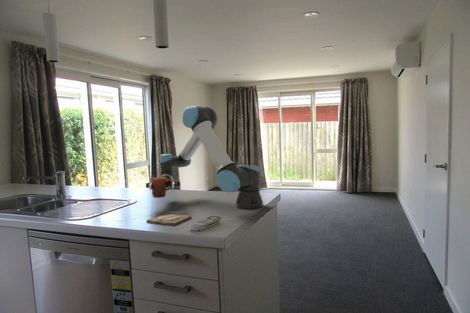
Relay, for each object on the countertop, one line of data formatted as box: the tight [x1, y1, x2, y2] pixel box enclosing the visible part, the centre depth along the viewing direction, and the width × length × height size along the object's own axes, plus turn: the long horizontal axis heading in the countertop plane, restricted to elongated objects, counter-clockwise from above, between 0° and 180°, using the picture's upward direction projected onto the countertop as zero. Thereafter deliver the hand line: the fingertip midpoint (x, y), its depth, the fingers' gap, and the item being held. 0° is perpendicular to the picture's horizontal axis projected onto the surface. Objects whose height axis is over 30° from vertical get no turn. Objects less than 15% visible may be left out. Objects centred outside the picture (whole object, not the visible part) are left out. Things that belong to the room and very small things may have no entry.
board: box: [146, 212, 192, 227], centre depth 161 cm, size 16×14×2 cm
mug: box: [149, 176, 173, 199], centre depth 180 cm, size 12×9×10 cm
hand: (161, 186), depth 176 cm, fingers closed on mug, 11 cm apart
